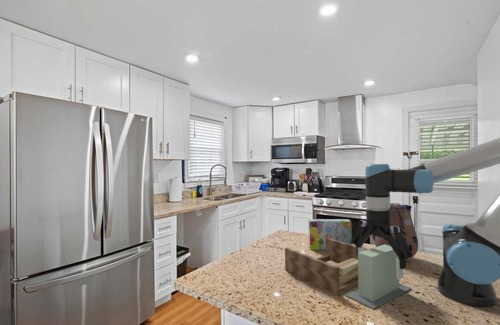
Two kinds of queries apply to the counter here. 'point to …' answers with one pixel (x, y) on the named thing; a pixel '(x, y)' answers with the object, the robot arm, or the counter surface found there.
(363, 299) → the mat
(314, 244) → the snack box
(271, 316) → the counter surface
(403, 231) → the ceramic pitcher
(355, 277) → the offcut stack
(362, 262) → the pale green block
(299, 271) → the rack
